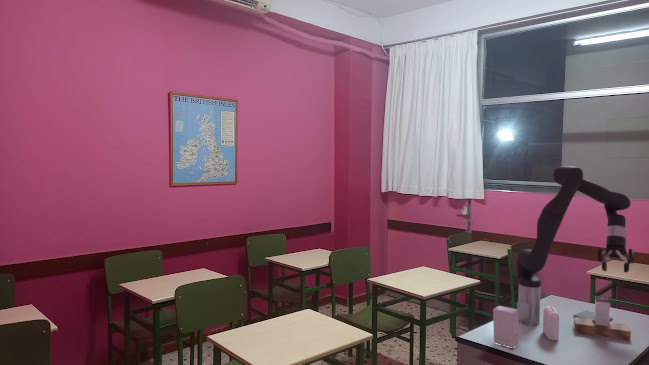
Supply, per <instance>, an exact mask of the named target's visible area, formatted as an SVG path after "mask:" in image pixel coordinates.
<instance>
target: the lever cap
mask: <svg viewBox="0 0 649 365" xmlns="http://www.w3.org/2000/svg"><path fill="white" fill-rule="evenodd" d="M594 313H595V314H594V325H595V326H600V327H607V328H609V322H610V321H609V317H610V298H605V297H598V296H596V297H595V298H594Z"/></svg>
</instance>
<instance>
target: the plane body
mask: <svg viewBox="0 0 649 365" xmlns="http://www.w3.org/2000/svg"><path fill="white" fill-rule="evenodd" d="M573 318H574V322H573V328H574V333H576V334H581V335H582V334H584V335H589V336H596V337H600V338H601V337H602V338H608V339H614V340H623V341H627V342H631V332H632V331H631V328H629V325H628V324H626V323H620V322H612V321H609V328H607V327H600V326H595V325H594V320H592V319H585V318H578V317H573Z"/></svg>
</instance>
